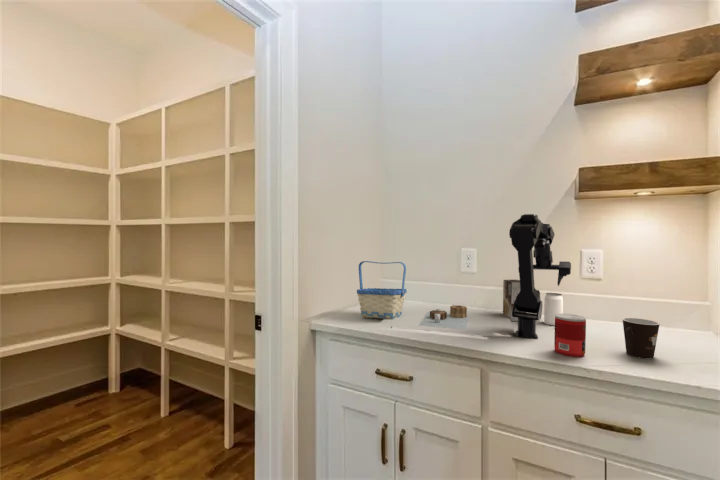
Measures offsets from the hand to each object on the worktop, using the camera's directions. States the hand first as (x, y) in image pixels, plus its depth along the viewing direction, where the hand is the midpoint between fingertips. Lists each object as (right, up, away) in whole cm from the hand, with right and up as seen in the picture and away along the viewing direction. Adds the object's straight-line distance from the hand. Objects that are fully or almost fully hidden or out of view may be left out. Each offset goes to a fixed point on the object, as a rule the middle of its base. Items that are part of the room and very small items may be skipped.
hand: (545, 284), depth 150 cm
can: (-1, -15, -7) cm, 17 cm away
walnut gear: (-46, -13, -4) cm, 48 cm away
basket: (-69, -14, +1) cm, 70 cm away
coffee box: (-13, -15, +1) cm, 19 cm away
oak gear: (-37, -13, -1) cm, 39 cm away
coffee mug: (+4, -16, -44) cm, 47 cm away
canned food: (-15, -15, -43) cm, 48 cm away
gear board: (-44, -14, -8) cm, 47 cm away
